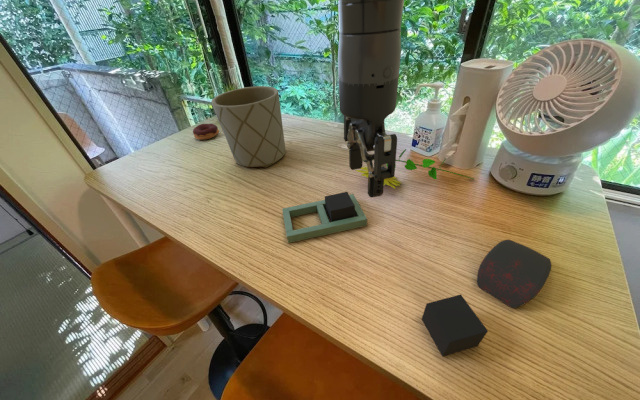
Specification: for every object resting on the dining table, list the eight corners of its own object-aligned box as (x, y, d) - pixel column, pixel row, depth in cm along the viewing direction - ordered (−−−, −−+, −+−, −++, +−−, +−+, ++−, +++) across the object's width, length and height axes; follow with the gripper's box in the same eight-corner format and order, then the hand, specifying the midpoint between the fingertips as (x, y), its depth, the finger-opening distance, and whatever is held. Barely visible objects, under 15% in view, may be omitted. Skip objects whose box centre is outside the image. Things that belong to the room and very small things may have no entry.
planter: (298, 146, 89) (289, 86, 77) (271, 175, 75) (254, 107, 63) (252, 141, 95) (237, 85, 83) (220, 167, 82) (196, 105, 69)
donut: (214, 140, 99) (210, 131, 97) (190, 141, 101) (186, 132, 98) (223, 130, 107) (220, 121, 105) (201, 131, 108) (198, 122, 106)
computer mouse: (468, 281, 43) (475, 266, 40) (503, 239, 49) (510, 224, 47) (523, 315, 38) (534, 301, 35) (554, 264, 44) (565, 248, 42)
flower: (452, 188, 73) (352, 164, 71) (467, 160, 69) (362, 134, 67) (474, 208, 62) (356, 180, 60) (492, 176, 58) (368, 145, 56)
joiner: (367, 225, 55) (367, 218, 54) (288, 243, 53) (286, 236, 52) (353, 200, 63) (353, 193, 62) (283, 214, 61) (282, 208, 60)
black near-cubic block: (354, 221, 57) (354, 205, 54) (331, 226, 56) (330, 210, 53) (347, 206, 61) (347, 191, 58) (325, 211, 60) (324, 196, 58)
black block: (477, 346, 35) (488, 331, 32) (442, 356, 35) (449, 342, 32) (453, 310, 39) (460, 294, 37) (421, 319, 39) (426, 303, 36)
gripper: (325, 68, 37) (331, 164, 47) (360, 91, 26) (358, 212, 36) (373, 61, 38) (369, 157, 48) (427, 81, 27) (407, 201, 37)
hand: (364, 180), depth 42 cm, fingers open, 8 cm apart
